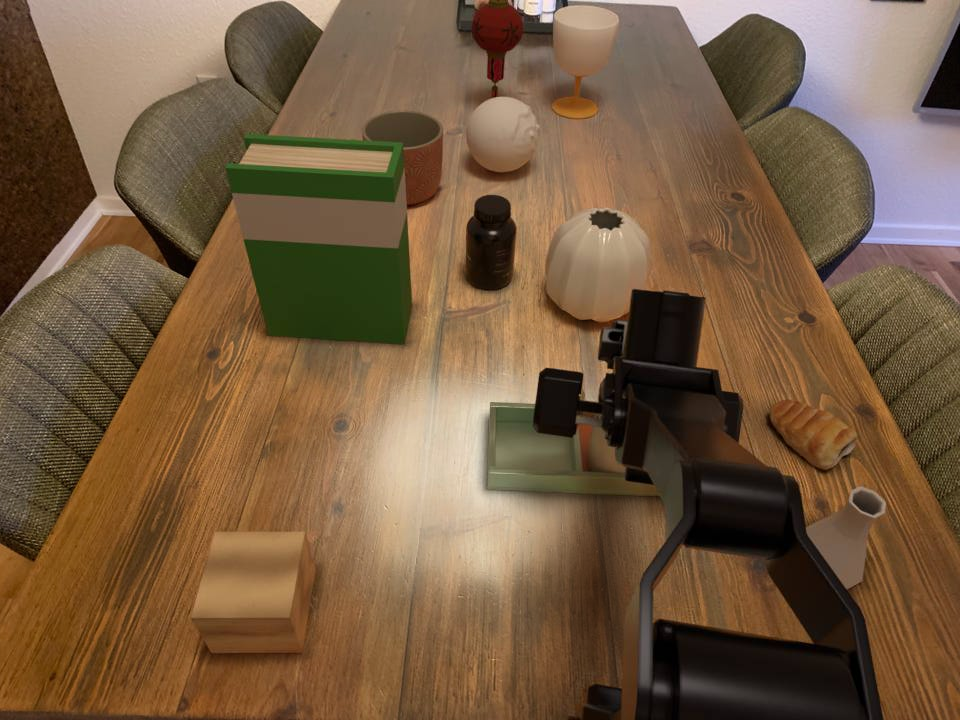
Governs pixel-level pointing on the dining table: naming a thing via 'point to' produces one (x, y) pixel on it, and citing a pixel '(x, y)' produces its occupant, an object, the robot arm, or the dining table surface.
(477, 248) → the supplement bottle
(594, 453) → the jar
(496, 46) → the lantern
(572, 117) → the cup
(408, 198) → the planter
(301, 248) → the hardback book
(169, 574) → the dining table surface
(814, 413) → the pastry
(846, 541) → the flask
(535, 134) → the decorative ball
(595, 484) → the tray
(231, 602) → the riser
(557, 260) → the vase
